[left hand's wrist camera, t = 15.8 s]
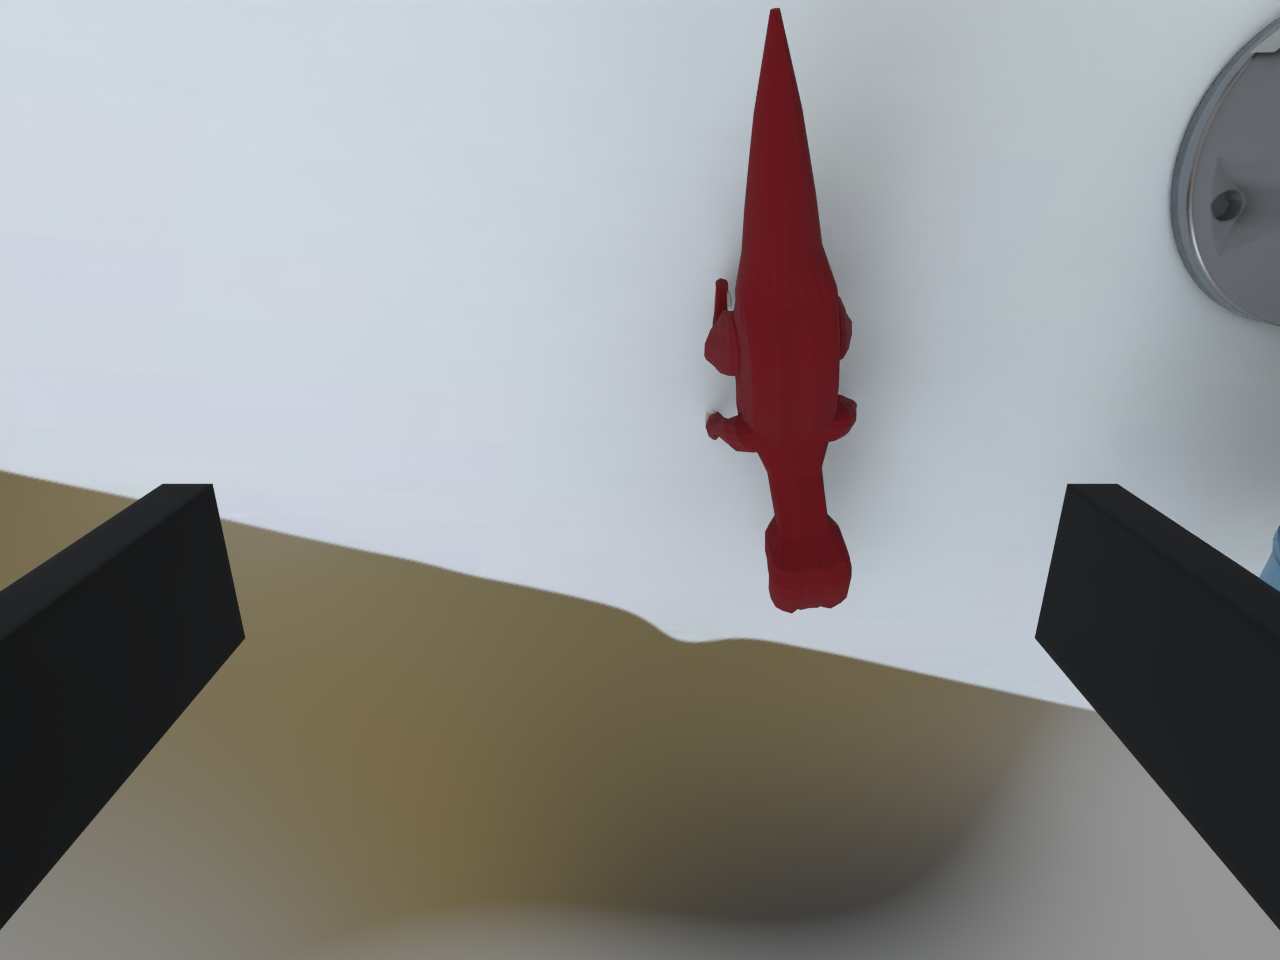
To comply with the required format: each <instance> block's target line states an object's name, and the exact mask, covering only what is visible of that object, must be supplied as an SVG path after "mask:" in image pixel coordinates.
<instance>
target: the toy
mask: <svg viewBox="0 0 1280 960" xmlns="http://www.w3.org/2000/svg"><path fill="white" fill-rule="evenodd" d="M735 295H736V301H735V307H734V311H728V310H727V304H728V306H729V307H730V308H731V306H732V300H731V294H730V293H729V291H728V282H727V280H725V279H721V278H720V279H718V280H717V281H716V295H715V310H714V318H713V327H712V328H711V330H710V333H709V335H708V338H707V340H706V342H705V353H704V356H705V358H706V360H707V361H709V362H710V363H711V364H712V365H713V366H714V367H715V368H716V369H717V370H718V371H719V372H720V373H722V374H725V375H728V376H735V377H736V402H737V410H738V415H737V416H735V417H732V418H729V419H727V418H724V417H723V416H722V415H721V414H720V413H719V412H718V411H717V412H716V413H715V412H714V410H713V414H712V415H711V414H710V415H708V413H707V410H706V420H705V422H706V429H707V432H708V435H709V437H711V438H712V439H713V440H716V439H717V438H718V437H720V438H721V439H723V440H724V441H725V442H726V443H727V444H729V445H730V446H731V447H732V448H733V449H734V450H736V451H742V452H757V453H758V455H759V456H760V458H761V460H762V462H763V464H764V467H765V469H766V471H767V473H768V479H769V484H770V490H771V496H772V502H773V508H774V514H775V515H774V517H773V519H772V520H771V522H770V524H769V525H768V528H767V530H766V531H765V552H766V556H767V564H768V572H769V592H770V597H771V599H772V601H773V603H774V605H775V606H776V607H777V608H779V609H780V610H782V611H786V612H789V613H793V612H794V611H796V610H797V609H800V610H802V609H807V608H818V607H820V606H822V607H826V608H832V607H834V606H836V605H838V604H839V603H841V602H842V601H843V600H844V599H845V598H846V597H847V593H848V589H849V585H850V581H851V572H852V567H851V562H850V557H849V554H848V550H847V547H846V545H845V542H844V539H843V536H842V534H841V531H840V528H839V526H838V525H837V523H836V522H835V521H834V520H833V519H832V518H831V517H830V516H829V515H828V514H827V509H826V501H825V493H824V484H823V474H822V464H823V461H824V457H825V453H826V449H827V446H828V442H831V441H835V440H837V439H839V438H841V437H843V436H845V435H846V434H847V433H848V432H849V431H850V429H851V427H852V426H853V424H854V423H855V421H856V408H857V404H856V403H855V401H853V400H851V399H849V398H847V397H844V396H842V395H838V387H839V360H840V359H843V358H844V356H845V354H846V352H847V350H848V349H849V344H850V340H851V335H852V321H851V320H850V318H849V317H848V315H847V314H846V311H845V307H844V305H843V303H842V301H841V298H840V297H839V296H838V290H837V286H836V283H835V280H834V277H833V274H832V271H831V268H830V265H829V263H828V260H827V257H826V254H825V251H824V248H823V245H822V239H821V231H820V223H819V215H818V207H817V198H816V191H815V185H814V179H813V173H812V166H811V160H810V154H809V148H808V141H807V135H806V129H805V123H804V116H803V110H802V105H801V101H800V96H799V92H798V87H797V83H796V78H795V74H794V70H793V65H792V61H791V56H790V52H789V47H788V43H787V38H786V34H785V30H784V25H783V21H782V16H781V12H780V8H774V9H771V10H770V15H769V21H768V28H767V34H766V40H765V46H764V53H763V59H762V65H761V71H760V78H759V84H758V90H757V96H756V103H755V109H754V116H753V126H752V135H751V145H750V155H749V165H748V176H747V186H746V197H745V208H744V223H743V238H742V252H741V258H740V264H739V270H738V276H737V282H736V288H735Z"/></svg>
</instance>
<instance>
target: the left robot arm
mask: <svg viewBox="0 0 1280 960" xmlns="http://www.w3.org/2000/svg"><path fill="white" fill-rule="evenodd" d="M1171 215H1172V226H1173V231H1174V236H1175V241H1176V244H1177V247H1178V250H1179V253H1180V256H1181V258H1182V260H1183V262H1184V265H1185V267H1186V268H1187V270H1188V272H1189V273H1190V275H1191V277H1192V278H1193V279H1194V281H1195V282H1196V283H1197V284H1198V286H1199V287H1200V288H1201V289H1202V290H1203V291H1204V292H1205V293H1206V294H1207V295H1208V296H1209V297H1210V298H1212V299H1213V300H1214V301H1215V302H1217V303H1218V304H1219V305H1221V306H1223V307H1225V308H1226V309H1228V310H1230V311H1232V312H1234V313H1236V314H1238V315H1241V316H1243V317H1247V318H1250V319H1253V320H1257V321H1261V322H1265V323H1269V324H1273V325H1277V326H1280V18H1279V19H1277V20H1276V21H1274V22H1273V23H1271V24H1270V25H1269V26H1268V27H1266V28H1265V29H1264V30H1263V31H1261V32H1260V33H1259V34H1257V35H1256V36H1255V37H1254V38H1253V39H1252V40H1251V41H1250V42H1249V43H1248V44H1247V45H1245V46H1244V47H1243V48H1242V49H1241V50H1240V51H1239V53H1238V54H1237V55H1236V56H1235V57H1234V58H1233V59H1232V60H1231V61H1230V62H1229V63H1228V65H1227V66H1226V67H1225V68H1224V70H1223V71H1222V72H1221V73H1220V75H1219V76H1218V77H1217V78H1216V80H1215V81H1214V83H1213V84H1212V86H1211V87H1210V89H1209V90H1208V91H1207V93H1206V94H1205V96H1204V98H1203V100H1202V101H1201V103H1200V105H1199V106H1198V108H1197V110H1196V112H1195V114H1194V116H1193V118H1192V120H1191V122H1190V124H1189V126H1188V129H1187V131H1186V134H1185V137H1184V139H1183V142H1182V144H1181V148H1180V151H1179V154H1178V158H1177V161H1176V166H1175V171H1174V176H1173V184H1172V192H1171ZM244 639H245V635H244V630H243V625H242V621H241V616H240V611H239V606H238V602H237V597H236V593H235V588H234V583H233V578H232V573H231V569H230V564H229V559H228V555H227V550H226V545H225V541H224V536H223V531H222V526H221V521H220V517H219V512H218V507H217V503H216V498H215V493H214V488H213V484H162V485H160V486H159V487H157V488H156V489H154V490H153V491H151V492H150V493H148V494H147V495H145V496H144V497H142V498H141V499H139V500H138V501H136V502H135V503H133V504H132V505H130V506H129V507H127V508H126V509H124V510H123V511H121V512H120V513H118V514H117V515H115V516H114V517H112V518H111V519H109V520H107V521H106V522H105V523H103V524H102V525H100V526H98V527H97V528H95V529H94V530H92V531H91V532H89V533H88V534H86V535H85V536H83V537H82V538H80V539H79V540H77V541H76V542H74V543H73V544H71V545H70V546H68V547H67V548H65V549H64V550H62V551H61V552H59V553H58V554H56V555H55V556H53V557H52V558H50V559H49V560H47V561H46V562H44V563H43V564H41V565H40V566H38V567H37V568H35V569H34V570H32V571H31V572H29V573H28V574H26V575H25V576H23V577H22V578H20V579H19V580H17V581H16V582H14V583H13V584H11V585H10V586H8V587H6V588H5V589H4V590H2V591H0V930H1V928H2V927H3V926H4V925H5V924H6V922H7V921H8V920H9V919H10V918H11V917H12V915H13V914H14V913H15V912H16V911H17V909H18V908H19V907H20V906H21V905H22V903H23V902H24V901H25V900H26V899H27V897H28V896H29V895H30V894H31V893H32V891H33V890H34V889H35V888H36V887H37V886H38V884H39V883H40V882H41V881H42V880H43V878H44V877H45V876H46V875H47V874H48V872H49V871H50V870H51V869H52V868H53V866H54V865H55V864H56V863H57V862H58V861H59V859H60V858H61V857H62V856H63V855H64V853H65V852H66V851H67V850H68V849H69V847H70V846H71V845H72V844H73V843H74V841H75V840H76V839H77V838H78V837H79V835H80V834H81V833H82V832H83V831H84V830H85V828H86V827H87V826H88V825H89V824H90V822H91V821H92V820H93V819H94V818H95V816H96V815H97V814H98V813H99V812H100V810H101V809H102V808H103V807H104V806H105V804H106V803H107V802H108V801H109V800H110V799H111V797H112V796H113V795H114V794H115V793H116V791H117V790H118V789H119V788H120V787H121V785H122V784H123V783H124V782H125V781H126V779H127V778H128V777H129V776H130V775H131V773H132V772H133V771H134V770H135V769H136V768H137V766H138V765H139V764H140V763H141V762H142V760H143V759H144V758H145V757H146V756H147V754H148V753H149V752H150V751H151V750H152V748H153V747H154V746H155V745H156V744H157V742H158V741H159V740H160V739H161V738H162V737H163V735H164V734H165V733H166V732H167V730H168V729H169V728H170V727H171V726H172V725H173V723H174V722H175V721H176V720H177V719H178V717H179V716H180V715H181V714H182V713H183V711H184V710H185V709H186V708H187V707H188V706H189V704H190V703H191V702H192V701H193V700H194V698H195V697H196V696H197V695H198V694H199V692H200V691H201V690H202V689H203V688H204V686H205V685H206V684H207V683H208V682H209V680H210V679H211V678H212V677H213V676H214V675H215V673H216V672H217V671H218V670H219V668H220V667H221V666H222V665H223V664H224V663H225V661H226V660H227V659H228V658H229V657H230V655H231V654H232V653H233V652H234V651H235V650H236V648H237V647H238V646H239V645H240V644H241V642H242V641H243V640H244ZM1035 639H1036V640H1037V641H1038V642H1039V644H1040V645H1041V646H1042V647H1043V648H1044V650H1045V651H1046V652H1047V653H1048V654H1049V655H1050V657H1051V658H1052V659H1053V660H1054V661H1055V663H1056V664H1057V665H1058V666H1059V667H1060V669H1061V670H1062V671H1063V672H1064V673H1065V675H1066V676H1067V677H1068V678H1069V679H1070V680H1071V682H1072V683H1073V684H1074V685H1075V686H1076V688H1077V689H1078V690H1079V691H1080V692H1081V694H1082V695H1083V696H1084V697H1085V698H1086V700H1087V701H1088V702H1089V703H1090V704H1091V706H1092V707H1093V708H1094V709H1095V710H1096V711H1097V713H1098V714H1099V715H1100V716H1101V717H1102V719H1103V720H1104V721H1105V722H1106V723H1107V725H1108V726H1109V727H1110V728H1111V729H1112V731H1113V732H1114V733H1115V734H1116V735H1117V736H1118V738H1119V739H1120V740H1121V741H1122V742H1123V744H1124V745H1125V746H1126V747H1127V748H1128V750H1129V751H1130V752H1131V753H1132V754H1133V756H1134V757H1135V758H1136V759H1137V760H1138V762H1139V763H1140V764H1141V765H1142V766H1143V768H1144V769H1145V770H1146V771H1147V772H1148V773H1149V775H1150V776H1151V777H1152V778H1153V779H1154V781H1155V782H1156V783H1157V784H1158V785H1159V787H1160V788H1161V789H1162V790H1163V791H1164V793H1165V794H1166V795H1167V796H1168V797H1169V798H1170V800H1171V801H1172V802H1173V803H1174V804H1175V806H1176V807H1177V808H1178V809H1179V810H1180V812H1181V813H1182V814H1183V815H1184V816H1185V817H1186V819H1187V820H1188V821H1189V822H1190V824H1191V825H1192V826H1193V827H1194V828H1195V830H1196V831H1197V832H1198V833H1199V834H1200V835H1201V837H1202V838H1203V839H1204V840H1205V841H1206V843H1207V844H1208V845H1209V846H1210V847H1211V849H1212V850H1213V851H1214V852H1215V853H1216V855H1217V856H1218V857H1219V858H1220V859H1221V861H1222V862H1223V863H1224V864H1225V865H1226V866H1227V868H1228V869H1229V870H1230V871H1231V872H1232V874H1233V875H1234V876H1235V877H1236V878H1237V880H1238V881H1239V882H1240V883H1241V884H1242V886H1243V887H1244V888H1245V889H1246V890H1247V891H1248V893H1249V894H1250V895H1251V896H1252V897H1253V899H1254V900H1255V901H1256V902H1257V903H1258V905H1259V906H1260V907H1261V908H1262V909H1263V911H1264V912H1265V913H1266V914H1267V915H1268V917H1269V918H1270V919H1271V920H1272V921H1273V922H1274V924H1275V925H1276V926H1277V927H1278V928H1279V930H1280V526H1279V528H1278V530H1277V531H1276V532H1275V535H1274V539H1273V551H1272V553H1271V555H1270V558H1269V560H1268V562H1267V564H1266V566H1265V568H1264V570H1263V571H1262V573H1261V575H1260V577H1259V578H1258V577H1257V576H1255V575H1254V574H1252V573H1251V572H1249V571H1248V570H1246V569H1245V568H1243V567H1242V566H1240V565H1239V564H1237V563H1236V562H1234V561H1233V560H1231V559H1230V558H1228V557H1227V556H1225V555H1224V554H1222V553H1221V552H1219V551H1218V550H1216V549H1215V548H1213V547H1212V546H1210V545H1209V544H1207V543H1206V542H1204V541H1203V540H1201V539H1200V538H1198V537H1197V536H1195V535H1194V534H1192V533H1191V532H1189V531H1188V530H1186V529H1185V528H1183V527H1182V526H1180V525H1179V524H1177V523H1176V522H1174V521H1173V520H1171V519H1170V518H1168V517H1166V516H1165V515H1163V514H1162V513H1160V512H1159V511H1157V510H1156V509H1154V508H1153V507H1151V506H1150V505H1148V504H1147V503H1145V502H1144V501H1142V500H1141V499H1139V498H1138V497H1136V496H1135V495H1133V494H1132V493H1130V492H1129V491H1127V490H1126V489H1124V488H1123V487H1121V486H1120V485H1118V484H1067V488H1066V493H1065V498H1064V503H1063V507H1062V512H1061V517H1060V521H1059V526H1058V531H1057V536H1056V540H1055V545H1054V550H1053V555H1052V559H1051V564H1050V569H1049V573H1048V578H1047V583H1046V588H1045V592H1044V597H1043V602H1042V606H1041V611H1040V616H1039V621H1038V625H1037V630H1036V635H1035Z"/></svg>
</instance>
